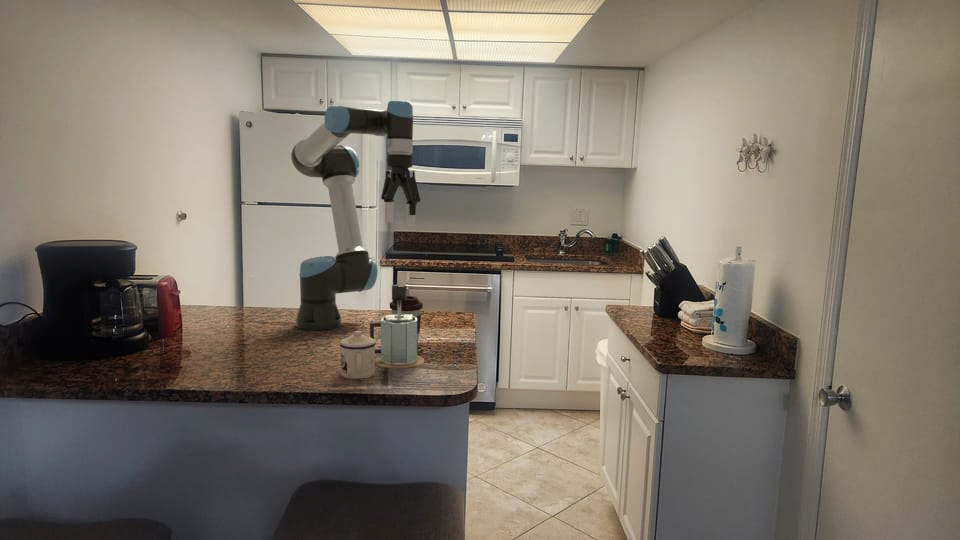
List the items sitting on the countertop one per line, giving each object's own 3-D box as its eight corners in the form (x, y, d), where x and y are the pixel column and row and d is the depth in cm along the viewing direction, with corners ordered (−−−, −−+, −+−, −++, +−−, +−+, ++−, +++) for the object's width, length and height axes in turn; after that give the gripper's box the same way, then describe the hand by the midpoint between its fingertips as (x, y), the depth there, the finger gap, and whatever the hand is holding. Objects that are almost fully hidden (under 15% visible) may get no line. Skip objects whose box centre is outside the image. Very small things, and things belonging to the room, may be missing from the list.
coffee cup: (416, 351, 180) (416, 301, 177) (385, 348, 181) (384, 299, 179) (426, 342, 189) (426, 295, 187) (396, 340, 191) (396, 293, 189)
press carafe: (371, 355, 172) (371, 313, 170) (416, 355, 174) (417, 312, 172) (369, 366, 162) (369, 321, 160) (417, 365, 164) (417, 321, 162)
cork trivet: (365, 360, 170) (365, 358, 170) (408, 352, 178) (408, 350, 178) (388, 373, 159) (388, 371, 158) (433, 365, 167) (433, 362, 167)
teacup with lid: (340, 370, 160) (339, 327, 159) (374, 368, 162) (374, 326, 161) (340, 385, 149) (339, 339, 147) (377, 383, 151) (377, 338, 149)
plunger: (385, 348, 171) (385, 283, 168) (412, 347, 172) (413, 283, 169) (384, 355, 164) (384, 288, 161) (413, 355, 165) (413, 288, 162)
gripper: (370, 154, 190) (370, 221, 193) (409, 152, 170) (409, 228, 173) (391, 155, 194) (391, 221, 197) (432, 153, 174) (431, 227, 177)
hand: (399, 224), depth 185 cm, fingers open, 13 cm apart
